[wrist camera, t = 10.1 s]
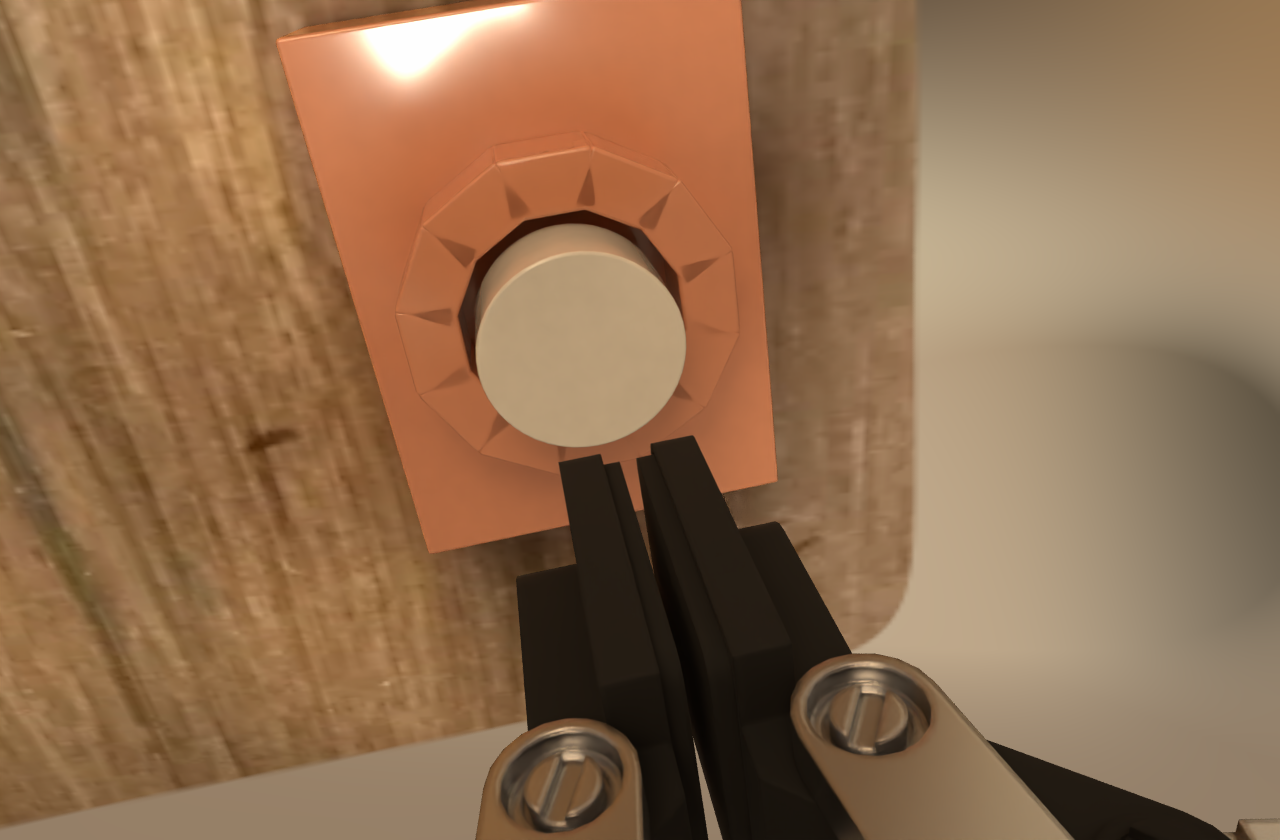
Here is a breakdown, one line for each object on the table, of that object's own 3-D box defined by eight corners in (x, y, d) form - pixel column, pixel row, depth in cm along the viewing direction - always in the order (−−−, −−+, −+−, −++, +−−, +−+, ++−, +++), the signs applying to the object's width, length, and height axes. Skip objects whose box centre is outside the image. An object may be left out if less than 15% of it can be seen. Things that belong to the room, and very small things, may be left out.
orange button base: (745, 426, 26) (801, 520, 22) (433, 490, 26) (425, 601, 21) (702, -37, 21) (765, -35, 16) (300, 27, 20) (254, 47, 16)
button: (676, 384, 20) (697, 426, 18) (497, 420, 20) (500, 466, 18) (654, 206, 18) (674, 233, 17) (454, 241, 18) (454, 274, 16)
